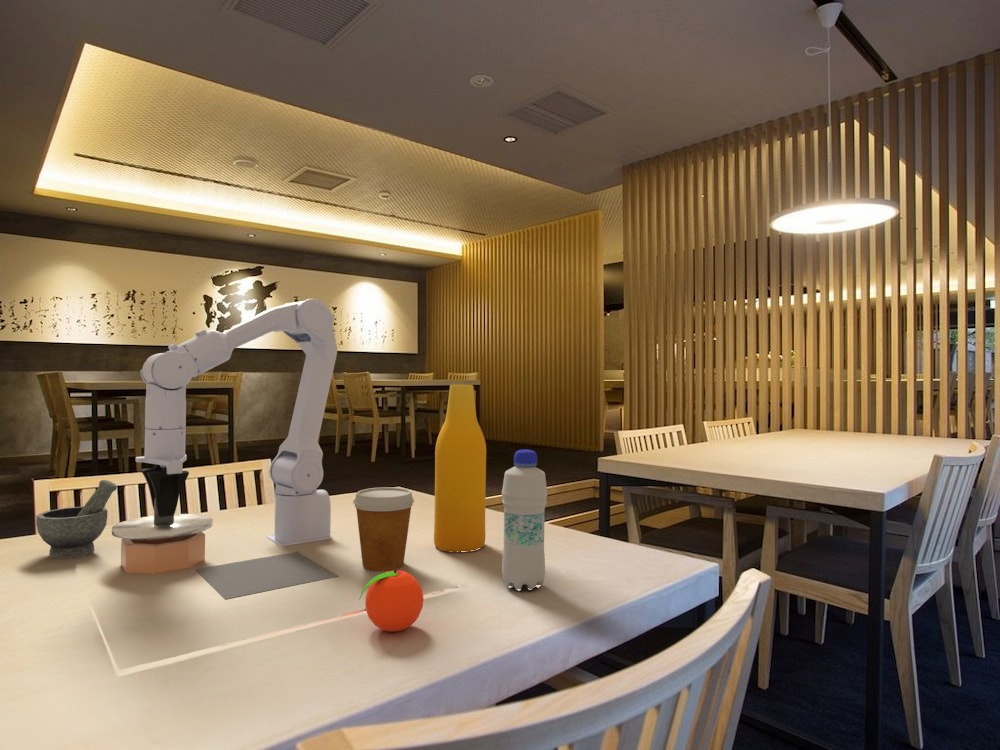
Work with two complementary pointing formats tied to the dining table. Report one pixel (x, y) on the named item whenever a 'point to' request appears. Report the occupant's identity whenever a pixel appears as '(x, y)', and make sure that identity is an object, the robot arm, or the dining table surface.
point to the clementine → (393, 600)
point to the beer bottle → (460, 476)
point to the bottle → (524, 522)
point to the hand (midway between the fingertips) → (164, 513)
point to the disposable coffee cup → (383, 526)
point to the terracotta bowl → (162, 553)
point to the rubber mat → (263, 574)
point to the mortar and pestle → (75, 524)
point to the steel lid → (161, 526)
